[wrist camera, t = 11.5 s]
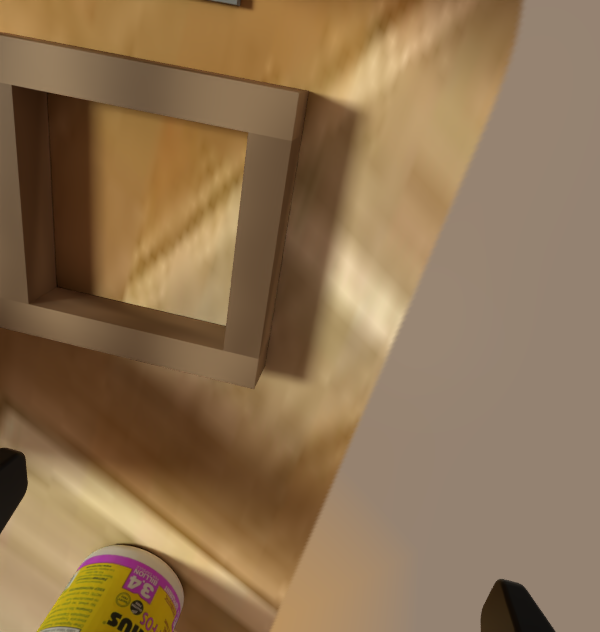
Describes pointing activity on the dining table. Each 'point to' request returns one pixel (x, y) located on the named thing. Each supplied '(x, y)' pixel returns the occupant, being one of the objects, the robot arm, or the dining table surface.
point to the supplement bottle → (118, 594)
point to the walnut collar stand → (37, 210)
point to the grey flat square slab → (228, 2)
